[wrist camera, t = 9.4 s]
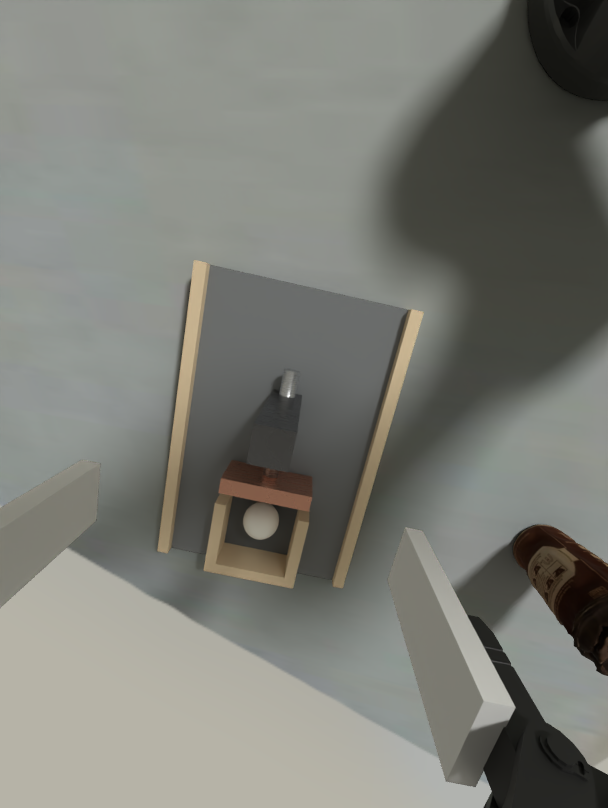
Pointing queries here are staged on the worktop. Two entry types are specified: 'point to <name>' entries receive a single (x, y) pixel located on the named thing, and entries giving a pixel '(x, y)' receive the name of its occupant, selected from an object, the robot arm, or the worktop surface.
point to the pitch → (317, 430)
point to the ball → (261, 520)
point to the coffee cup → (569, 587)
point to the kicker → (272, 454)
